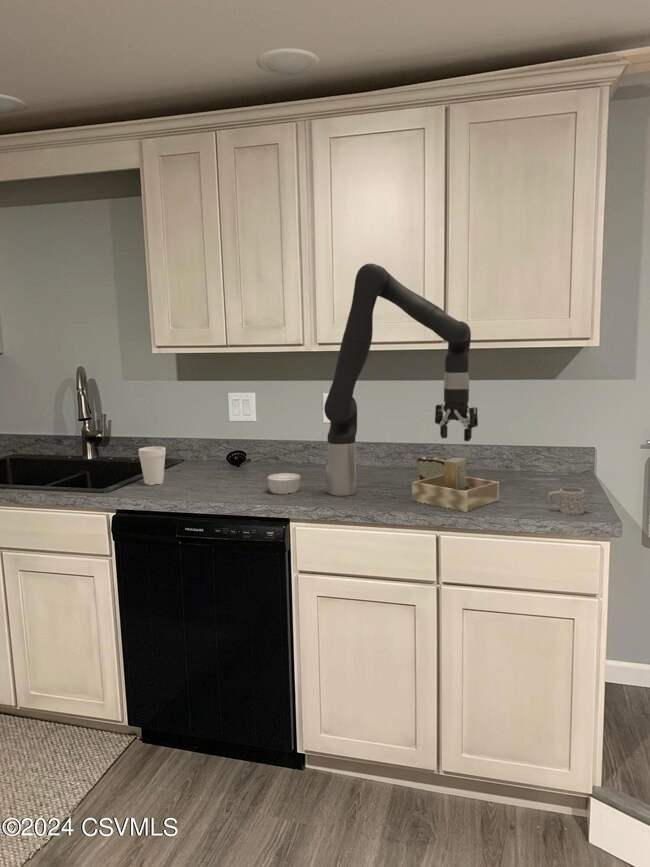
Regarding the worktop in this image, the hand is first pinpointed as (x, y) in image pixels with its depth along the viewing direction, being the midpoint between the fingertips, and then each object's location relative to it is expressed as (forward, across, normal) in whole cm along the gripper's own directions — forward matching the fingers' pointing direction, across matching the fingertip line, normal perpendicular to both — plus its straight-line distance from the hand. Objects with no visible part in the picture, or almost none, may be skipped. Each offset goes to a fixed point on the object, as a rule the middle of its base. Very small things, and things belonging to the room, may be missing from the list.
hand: (455, 439), depth 208 cm
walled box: (+20, 0, 0) cm, 20 cm away
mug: (+20, +31, +11) cm, 38 cm away
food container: (+20, -18, +14) cm, 30 cm away
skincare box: (+19, 0, 0) cm, 19 cm away
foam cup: (+21, -96, -51) cm, 110 cm away
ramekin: (+20, -51, -27) cm, 61 cm away
